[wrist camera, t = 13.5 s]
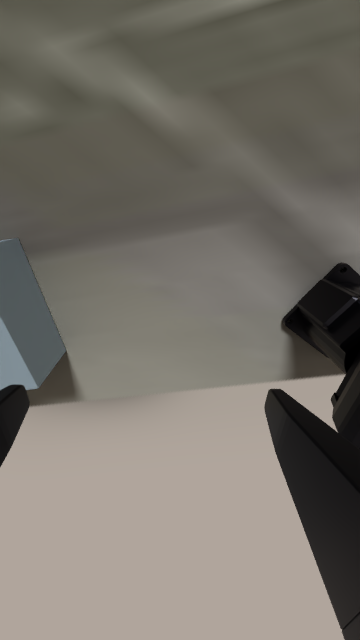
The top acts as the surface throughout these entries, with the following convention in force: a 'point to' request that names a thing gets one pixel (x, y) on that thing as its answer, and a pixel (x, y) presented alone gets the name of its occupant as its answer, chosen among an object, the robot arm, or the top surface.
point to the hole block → (24, 323)
